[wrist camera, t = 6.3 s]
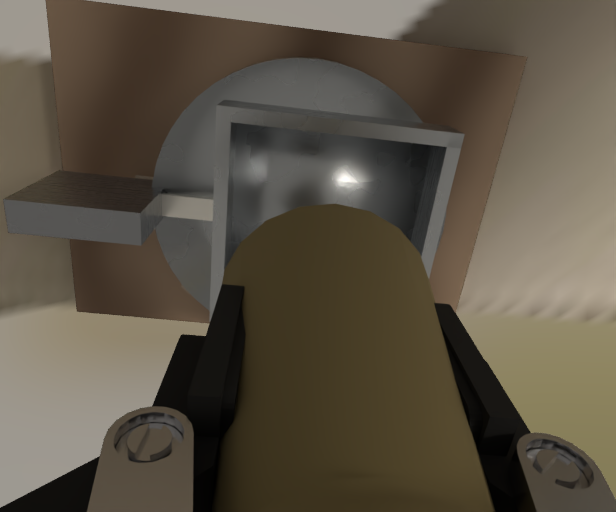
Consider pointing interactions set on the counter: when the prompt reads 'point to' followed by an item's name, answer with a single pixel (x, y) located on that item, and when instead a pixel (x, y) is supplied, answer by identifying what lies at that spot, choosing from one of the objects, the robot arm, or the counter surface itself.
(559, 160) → the counter surface
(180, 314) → the board
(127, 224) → the grey handled box
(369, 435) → the cork
